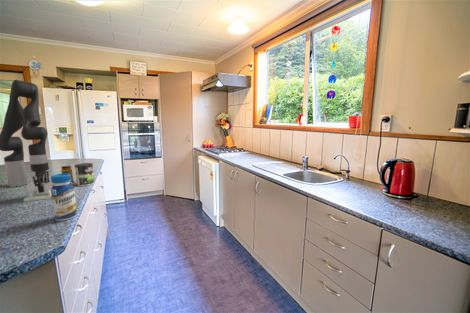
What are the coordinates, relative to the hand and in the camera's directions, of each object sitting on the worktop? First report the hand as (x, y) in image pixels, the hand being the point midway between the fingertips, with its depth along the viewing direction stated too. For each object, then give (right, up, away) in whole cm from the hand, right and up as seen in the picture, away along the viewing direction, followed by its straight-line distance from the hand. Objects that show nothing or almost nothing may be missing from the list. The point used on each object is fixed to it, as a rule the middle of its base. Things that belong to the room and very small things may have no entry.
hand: (43, 190), depth 124 cm
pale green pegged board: (0, -3, +1) cm, 4 cm away
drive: (0, -1, 0) cm, 1 cm away
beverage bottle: (+34, -8, -26) cm, 43 cm away
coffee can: (+7, 0, +26) cm, 27 cm away
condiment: (-8, +1, +30) cm, 31 cm away
